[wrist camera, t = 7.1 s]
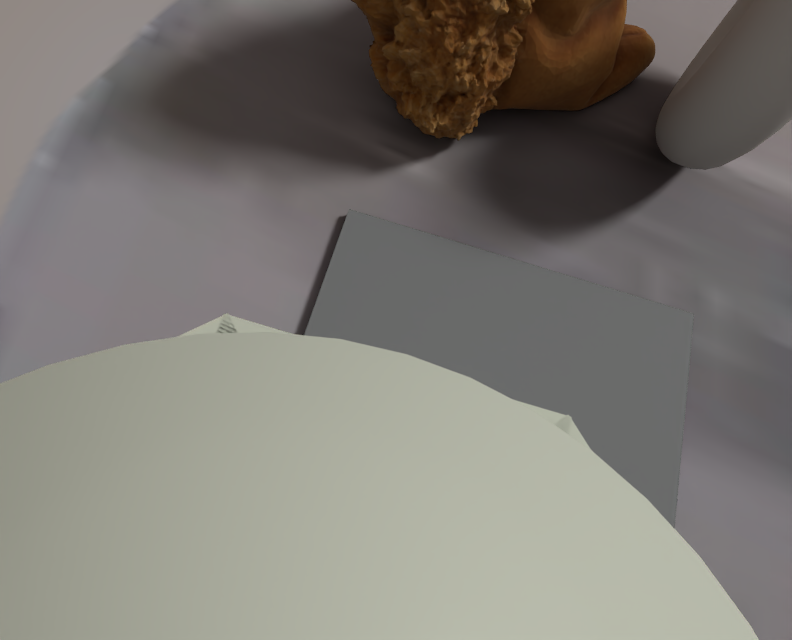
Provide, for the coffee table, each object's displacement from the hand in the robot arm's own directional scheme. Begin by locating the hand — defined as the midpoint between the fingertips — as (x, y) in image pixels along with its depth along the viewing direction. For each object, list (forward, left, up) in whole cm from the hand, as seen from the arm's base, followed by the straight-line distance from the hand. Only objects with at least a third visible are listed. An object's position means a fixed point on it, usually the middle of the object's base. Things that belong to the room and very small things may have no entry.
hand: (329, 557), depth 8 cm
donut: (+20, -10, -8) cm, 24 cm away
